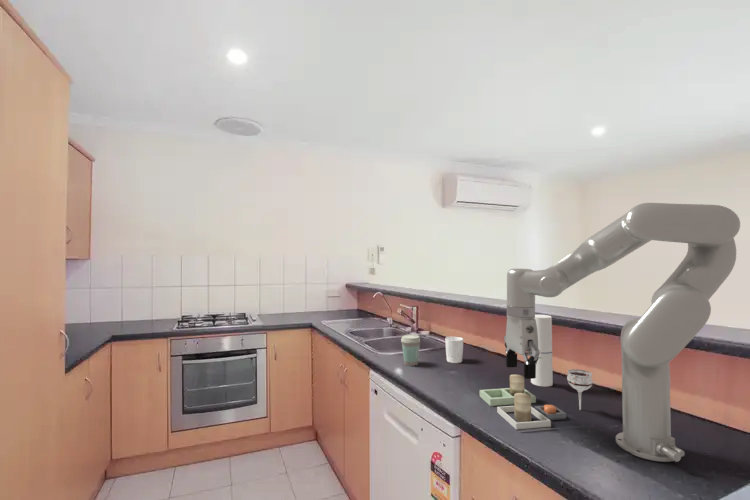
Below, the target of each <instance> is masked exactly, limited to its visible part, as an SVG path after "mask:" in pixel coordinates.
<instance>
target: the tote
mask: <svg viewBox="0 0 750 500" xmlns="http://www.w3.org/2000/svg"><path fill="white" fill-rule="evenodd" d="M496 410H497V411H496V412H497V413H498V414H499V415H500V416H501V417H502V418H503V420H505V421H506V422H507V423H509V424H510V426H511V427H513V428H514V429H515V432H524V431H537V430H549V429H551V427H552V420H549V419H548V418H546V417H545V416H544V415H542V414H541V413H539V412H538V411H537V410H535V407H534V406H531V415H533V416H534V417H536V418H537V419H538V420H533V421H532V420H531V422H519V421H518V422H517V420H515V419H513V418H512V417H511V416H510V415H509V414H507V413H514V405H502V406H496Z"/></svg>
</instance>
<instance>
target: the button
mask: <svg viewBox="0 0 750 500" xmlns="http://www.w3.org/2000/svg"><path fill="white" fill-rule="evenodd" d="M553 405H554V404H544V405H543V406H544V411H545V412H547V413H556V407H557V406H556V407H555V405H554V406H553Z"/></svg>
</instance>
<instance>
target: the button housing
mask: <svg viewBox="0 0 750 500" xmlns="http://www.w3.org/2000/svg"><path fill="white" fill-rule="evenodd" d="M552 405H553V406H555V405H554V404H552ZM555 407H556V413H547V412H545V411H544V405H537V406H536V405H535V406H534V409H535V410H537V411H538V412H539V413H541V414H542V415H544V416H545V417H546V418H548V419H549V420H550V421H558V420H559V421H560V420H567V413H566V412H564V410H562V409H560V408H559V407H557V406H555Z"/></svg>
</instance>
